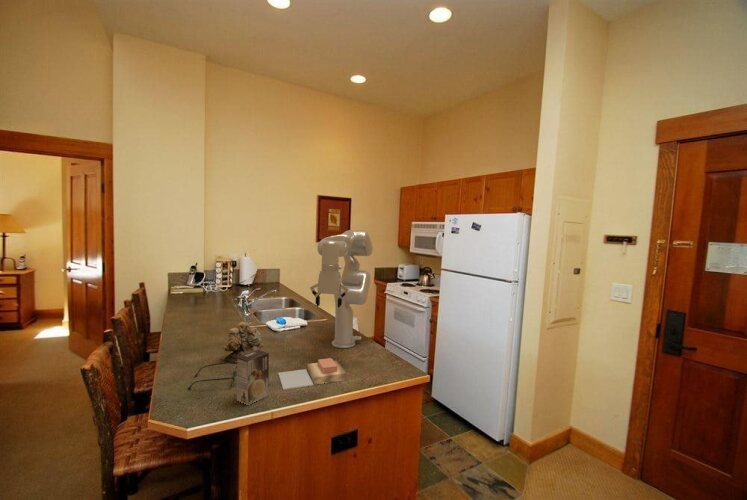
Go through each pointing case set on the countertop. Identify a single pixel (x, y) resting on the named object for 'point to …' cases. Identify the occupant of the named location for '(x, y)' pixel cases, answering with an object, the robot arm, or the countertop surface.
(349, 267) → the robot arm
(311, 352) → the countertop surface
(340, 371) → the plate
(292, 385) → the mat
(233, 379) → the sunglasses
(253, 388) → the coffee box
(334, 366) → the salmon pink rectangular block
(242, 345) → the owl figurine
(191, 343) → the countertop surface
